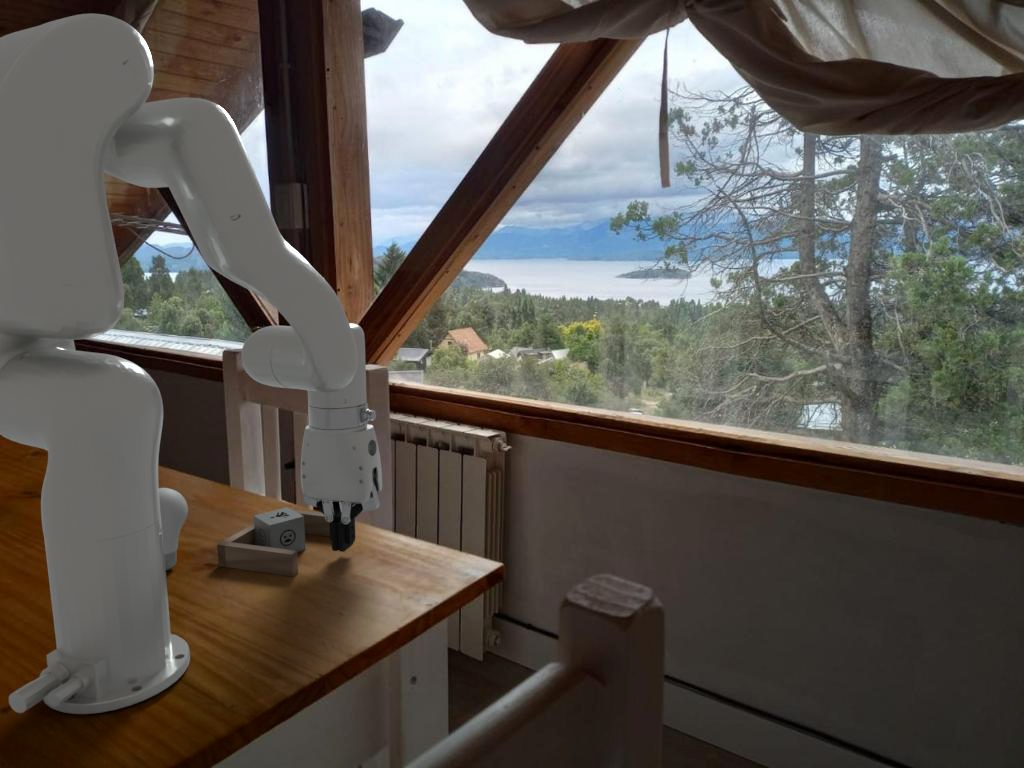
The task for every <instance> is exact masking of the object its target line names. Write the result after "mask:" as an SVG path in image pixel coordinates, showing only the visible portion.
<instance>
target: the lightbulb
mask: <svg viewBox="0 0 1024 768" xmlns="http://www.w3.org/2000/svg"><path fill="white" fill-rule="evenodd" d="M159 501H160V513H161V523H162V535H163V547H164V559H165V571H169V570H170V569H171V568H173V567H174V566H175V565H176V564H177V563H178V561H177V559H178V557H177V556H178V554H177V550H178V548H179V536H180V533H181V530H182V529H183V527H184V524H185V521H186V519H187V517H188V512H189V508H188V503H187V500H186V498H185V497H184V496H183V495H182V494H181V493H180V492H178V491H177V490H174V489H172V488H169V487H159Z"/></svg>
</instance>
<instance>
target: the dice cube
mask: <svg viewBox="0 0 1024 768" xmlns="http://www.w3.org/2000/svg"><path fill="white" fill-rule="evenodd" d="M293 510H294V509H293ZM293 510H292V508H290V507H288V506H285V507H282V509H280V508H278V509H275V510H270V511H266V512H263V513H262V512H261V513H259V514H255V515H253V524H254V532H255V545H256V546H264V547H272V548H279V549H287V550H295V551H297V553H298V552H301V551H305V550H306V533H305V528H304V516H303V515H301V514H299V513H297V512H295V511H293Z"/></svg>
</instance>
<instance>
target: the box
mask: <svg viewBox="0 0 1024 768" xmlns="http://www.w3.org/2000/svg"><path fill="white" fill-rule="evenodd" d="M282 508H283V507H282ZM282 508H281V507H279V509H282ZM291 509H292V508H291ZM292 510H293V511H295V512H297V513H299V514H301V515H303V516H304V528H305V534H309V535H316V536H324V537H325V536H326V537H330V526H329V522H327V521H326V520H325V515H324V514H323V513H322V512H317V511H308V510H299V509H292ZM216 550H217V562H218V567H223V568H231V569H238V570H245V571H250V572H251V571H252V572H259V573H266V574H274V575H280V576H287V577H294V576H296V575H297V574H298V573H299V561H298V559H299V558H298V552H297V551H295V550H287V549H279V548H272V547H264V546H256V545H255V532H254V523H252V524H250V525H248V526H247V527H245V528H243V529H242V530H239V532H236V533H234V534H233V535H231V536H229V537H228V538H226V539H225V540H223V541H221V542H219V543H217V544H216Z"/></svg>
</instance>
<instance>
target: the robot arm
mask: <svg viewBox="0 0 1024 768" xmlns="http://www.w3.org/2000/svg"><path fill="white" fill-rule="evenodd" d="M154 77H155V74H154V62H153V58H152V54H151V51H150V49H149V46H148V44H147V42H146V40H145V39H144V38H143V36H142V34H140V33H139V31H138V30H137V29H135V28H134V27H133V26H132V25H131V24H129V23H127V22H126V21H124V20H123V19H119V18H117V17H115V16H111V15H107V14H101V13H81V14H75V15H72V16H67V17H63V18H60V19H59V18H58V19H55V20H51V21H48V22H45V23H42V24H40V25H37V26H36V25H35V26H32V27H29V28H26V29H21V30H19V31H15V32H11V33H8V34H5V35H3V36H1V37H0V436H2V437H4V438H5V439H8V440H10V441H12V442H16V443H18V444H21V445H24V446H25V445H26V446H30V447H34V448H39V449H42V450H45V451H47V455H48V456H47V457H48V458H47V465H46V470H45V475H44V479H43V482H42V483H43V484H42V488H41V495H40V498H41V499H40V515H41V516H40V517H41V527H42V534H43V538H44V539H43V541H44V548H45V549H44V550H45V556H46V557H45V558H46V565H47V574H48V582H49V583H48V584H49V591H50V601H51V609H52V619H53V625H54V627H53V628H54V634H55V644H56V649H54V650H51V652H49V653H47V654H46V656H45V657H46V664H47V667H46V668H44V669H42V670H41V671H40V673H39V677H38V678H36V679H34V680H31V681H30V682H28V683H26V684H24V685H22V686H21V687H20V688H17V689H16V690H15V691H13V692H12V693H10V694H9V696H8V704H9V705H10V707H11V709H12V710H13V711H14V712H16V713H18V714H23V713H25V712H26V711H28V710H30V709H31V708H32V707H34V706H35V705H37V704H38V703H40V702H41V701H43V702H44V704H45V705H46V706H48V707H49V708H50V709H52V710H55V711H58V712H62V713H66V714H72V715H89V714H90V715H91V714H102V713H106V712H112V711H116V710H119V709H123V708H127V707H130V706H133V705H135V704H139V703H141V702H144V701H145V700H148V699H150V698H153V697H154V696H157V695H158V694H161V692H163V691H164V690H167V689H168V688H169V687H171V686H172V685H173V684H174V683H175V682H177V681H178V680H179V679H180V678H181V677H182V675H184V673H185V672H186V671H187V668H188V667H189V665H190V661H191V653H190V646H189V644H188V642H187V641H186V640H185V639H184V638H182V637H180V636H178V635H177V634H173V633H172V632H171V621H170V610H169V608H170V607H169V598H168V596H169V595H168V585H167V572H166V571H167V570H165V559H164V547H163V535H162V523H161V513H160V501H159V488H160V487H159V455H160V454H159V453H160V446H161V445H160V444H161V438H162V430H163V423H164V422H163V421H164V405H163V404H164V403H163V399H162V398H163V397H162V395H161V392H160V389H159V387H158V385H157V384H156V381H155V380H154V379H153V378H152V377H151V375H150V374H149V373H148V372H147V371H146V370H145V369H144V368H142V367H141V366H139V365H138V364H136V363H134V362H133V361H130V360H128V359H125V358H122V357H120V356H117V355H112V354H108V353H100V352H91V351H83V350H76V345H75V340H85V339H86V340H87V339H92V338H95V337H99V336H100V335H104V334H106V333H107V332H109V331H110V330H111V329H112V328H114V327H115V325H116V324H117V323H118V322H119V321H120V319H121V317H122V314H123V311H124V307H125V288H124V282H123V277H122V276H123V275H122V271H121V266H120V261H119V256H118V250H117V247H116V246H117V245H116V241H115V236H114V231H113V227H112V220H111V216H110V212H109V207H108V200H107V199H108V198H107V191H106V184H105V183H106V182H105V174H107V175H109V176H112V177H114V178H115V179H118V180H121V181H123V182H125V183H128V184H131V185H134V186H138V187H142V188H149V189H150V188H152V189H158V188H159V189H160V188H169V190H170V192H171V194H172V197H173V199H174V200H175V203H176V205H177V207H178V209H179V210H180V213H181V214H182V217H183V219H184V221H185V223H186V225H187V227H188V230H189V231H190V234H191V236H192V238H193V240H194V242H195V244H196V246H197V248H198V250H199V252H200V254H201V256H202V259H203V260H204V262H205V263H206V264H207V265H208V266H209V267H210V268H211V269H212V270H213V271H215V272H216V273H218V274H220V275H222V276H223V277H224V278H227V279H228V280H229V281H231V282H233V283H235V284H237V285H239V286H241V287H243V288H245V289H246V290H248V291H250V292H251V293H254V294H256V295H257V296H259V297H261V298H262V300H265V301H266V302H267V303H269V304H270V305H271V306H272V307H273V308H274V309H276V310H277V311H278V312H279V313H280V315H281V316H282V317H284V319H285V320H286V321H287V323H288V324H289V325H269V326H264V327H262V328H260V329H257V330H256V331H254V332H253V333H251V334H250V335H249V336H248V337H247V338H246V340H245V342H244V343H243V345H242V348H241V355H240V357H241V358H240V359H241V364H242V367H243V369H244V371H245V373H247V374H248V376H249V377H250V378H251V379H252V380H254V381H256V382H257V383H260V384H261V385H265V386H270V387H273V388H281V389H290V390H291V389H293V390H304V391H307V406H308V408H307V409H308V410H307V412H308V413H307V414H308V425H306V426H305V428H304V433H303V437H302V445H301V452H300V453H301V455H300V484H301V485H300V487H301V491H302V494H303V495H304V497H303V502H304V503H305V504H306V505H309V506H312V507H315V508H317V509H318V510H319V511H320V513H323V514H324V515H325V520H326V521H327V522H329V526H330V536H329V541H330V542H331V550H332V551H333V552H337V551H339V552H341V553H342V552H343V553H344V552H346V551H347V550H349V548H350V547H352V546H353V545H354V543H355V541H356V518H357V517H358V516H359V515H360V514H362V513H364V512H365V513H366V512H371V511H375V510H376V509H378V508H379V507H380V504H381V503H380V500H379V495H378V494H379V493H381V492H382V489H383V473H382V472H383V471H382V463H381V462H382V461H381V455H380V450H379V449H380V448H379V443H378V438H377V435H376V431H375V426H374V425H373V424H369V422H370V421H375V420H376V419H377V412H376V411H377V410H374V409H370V408H369V403H368V402H367V370H366V368H367V367H366V341H365V340H366V339H365V332H364V329H363V328H362V327H361V326H360V325H359V324H357V323H352V322H349V319H348V317H347V314H346V312H345V309H344V306H343V304H342V302H341V300H340V298H339V297H338V295H337V293H336V292H335V290H334V289H333V287H332V286H331V285H330V283H328V281H327V280H326V279H325V277H323V276H322V275H321V274H320V273H319V272H318V271H317V270H316V269H315V268H314V267H313V266H312V265H311V263H310V261H308V260H307V259H306V258H305V257H304V255H302V254H301V253H300V252H299V251H298V250H296V249H295V248H294V247H293V246H291V244H290V243H289V242H288V241H286V239H284V237H283V235H282V234H281V232H280V230H279V227H278V226H277V224H276V223H277V222H276V221H275V218H274V216H273V213H272V211H271V208H270V207H269V206H270V205H269V203H268V202H267V200H266V197H265V194H264V192H263V190H262V189H263V188H262V187H261V185H260V182H259V180H258V178H257V175H256V171H255V170H254V167H253V164H252V162H251V160H250V157H249V154H248V152H247V150H246V147H245V145H244V142H243V140H242V138H241V135H240V133H239V130H238V128H237V126H236V124H235V122H234V121H233V119H232V118H231V116H230V114H229V113H228V112H227V110H225V109H224V108H223V107H222V106H220V104H218V103H216V102H213V101H211V100H209V99H205V98H200V97H176V98H175V97H174V98H169V99H161V100H155V101H150V102H149V101H148V102H147V100H148V98H149V96H150V94H151V91H152V88H153V83H154Z"/></svg>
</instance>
